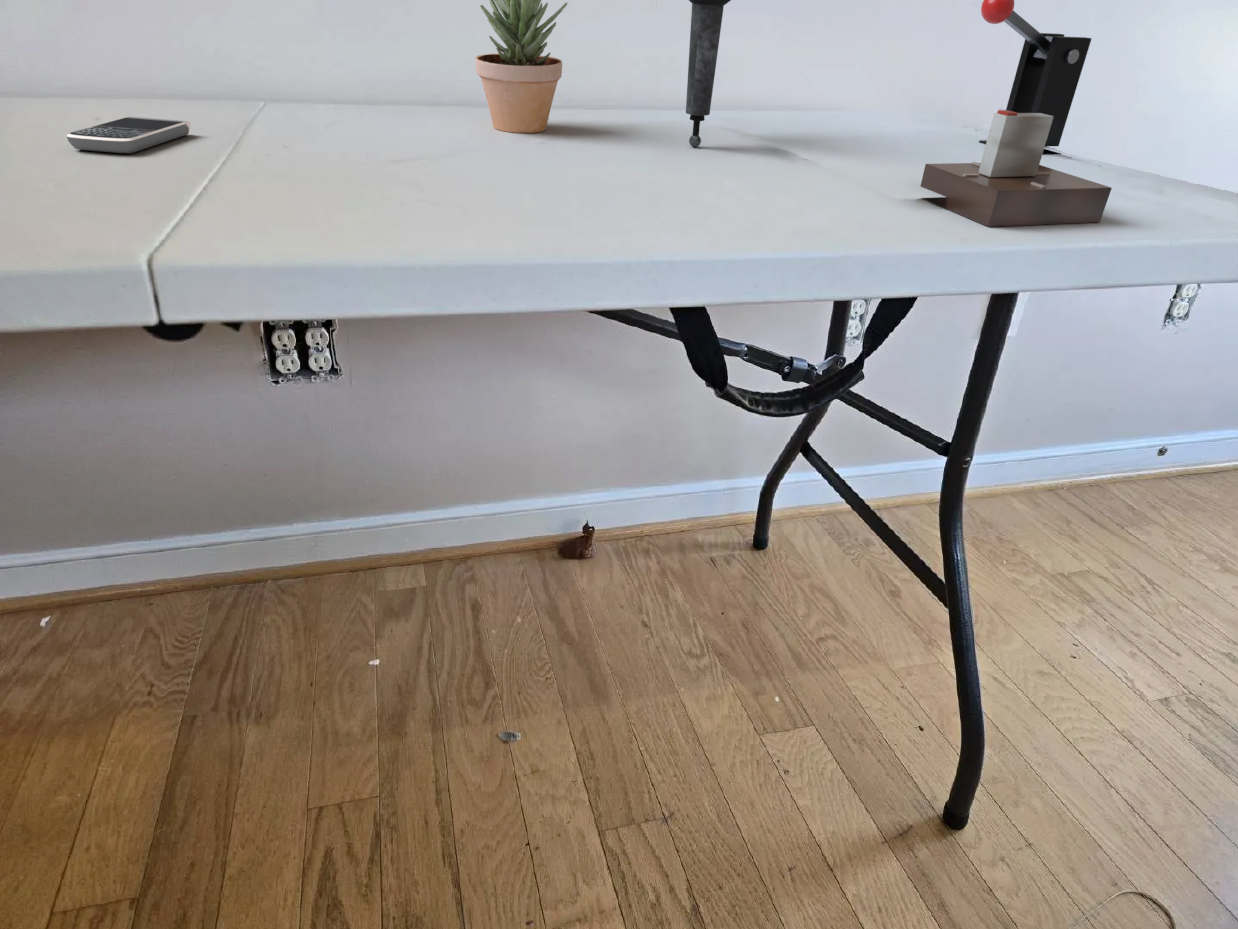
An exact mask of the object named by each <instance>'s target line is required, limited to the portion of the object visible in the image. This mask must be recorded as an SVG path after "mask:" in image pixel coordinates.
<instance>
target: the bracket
mask: <svg viewBox="0 0 1238 929" xmlns="http://www.w3.org/2000/svg"><path fill="white" fill-rule="evenodd" d="M1040 33H1041V34H1042V35H1043V36H1044V37H1045V36H1052V37H1053V38H1052V41H1051V45H1050V48H1049V52H1048V55H1047V59H1046V62H1045V66H1044V65H1042V64H1041V63H1040V62H1039V61H1037V60H1036V59H1035V58H1034V57H1033V56H1034V54H1035V52H1036V51H1037V48H1036V47H1035V46H1033V45H1032V44H1031V43H1030V42H1028V41H1027V40H1026V39H1025V38H1024V42H1023V46H1022V50H1021V53H1020V57H1019V61H1018V64H1017V68H1016V72H1015V75H1014V79H1013V82H1012V86H1011V90H1010V94H1009V97H1008V100H1007V104H1006V108H1005V110H1009V111H1013V112H1017V113H1042V114H1046V115H1050V116H1053V120H1052V124H1051V127H1050V130H1049V134H1048V137H1047V140H1046V144H1045V147H1059V146H1060V144H1061V139H1062V137H1063V133H1064V129H1065V127H1066V123H1067V120H1068V117H1069V114H1070V110H1071V107H1072V105H1073V104H1072V103H1073V102H1074V101H1073V100H1074V97H1075V94H1076V91H1077V88H1078V84H1079V81H1080V78H1081V75H1082V71H1083V68H1084V64H1085V61H1086V58H1087V55H1088V52H1089V49H1090V45H1091V42H1092V37H1086V36H1085V37H1083V36H1065V34H1063V33H1050V32H1040ZM986 142H987V139H986V140H983V139H982V140H979V141H978V143H979V144H983V145H986ZM1045 155H1050V156H1051V155H1053V156H1054V155H1062V153H1060V152H1057V151H1054V150H1050V149H1047V148H1044V150H1043V154H1042V156H1045Z"/></svg>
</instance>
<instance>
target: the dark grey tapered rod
mask: <svg viewBox="0 0 1238 929" xmlns="http://www.w3.org/2000/svg"><path fill="white" fill-rule="evenodd" d="M688 1H689V2H690V3H691V17H690V30H689V32H690V34H689V50H688V67H687V82H686V84H687V85H686V101H685V113H686V114H687V115H689V120H690V121H693V122H692V124H693V125H692V134H691V136H690V137H689V138H688V143H689V145H690V146H691V147H693V148H697V147H699V146H700V145H701V144H702V139H701V136H700V126H701V122H704V121H705V120H706V118H705V116H709V115H710V113H711V106H712V99H713V90H714V83H715V75H716V67H717V60H718V53H719V46H720V38H721V32H722V31H721V29H722V24H723V23H722V22H723V21H722V20H723V14H724V9H725V8H724V7H725V6H726V5H727V4H728V3H729V2H731V1H732V0H688Z"/></svg>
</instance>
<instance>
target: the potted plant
mask: <svg viewBox="0 0 1238 929" xmlns="http://www.w3.org/2000/svg"><path fill="white" fill-rule="evenodd" d="M488 2H489V4H490V7H491V8H492V13H490V11H489V10H488V9H487V8H486V7H485V6H484V4H479V5H480V6H479V7H480V9H481V10H482V12H483V13H484V15H485V16H486V18H487V22H488V23H489V25H490V26H491V27H492V29H493V30H494V32H495V33H496V35H497V36H498V37H499V39H500V40H501V41H502V42H503V44H504V45H505V46H503V45H502V44H500V43H499V42H498V41H497V40H496V39H495V38H493V36H491V35H488V38H489V39H490V41H491V42H492V43H493V45H494V46H495V49H496V51H497V53H487V54H479V55H477V56H476V57H475V71H476V75H478V77H479V78H480V80H481V84H482V87H483V92H484V94H485V98H486V102H487V106H488V109H489V114H490V117H491V121H492V122H491V123H492V126H493V128H494V129H495V130H497V131H500V132H501V131H502V132H506V133H507V132H508V133H514V134H515V133H516V134H518V133H519V134H535V133H536V134H537V133H540V132H541V133H542V132H544V131H545V130H546V128H547V125H548V121H549V117H550V112H551V108H552V104H553V100H554V97H555V93H556V89H557V86H558V82H559V80H560V79H561V78H562V75H563V74H562V73H563V61H562V59H559V58H557V57H553V56H550V55H551V51H549V52H548V53H547V54H546V55H542V54H543V53H544V51H545V49H546V48H547V46H548V41H546V40H547V39H548V38H549V36H550V35H551V34H552V32H553V31H554V28H555V27H556V26H557V21H555V22H554V20H555V19H556V18H557V17H558V16H559V15H560V14H561V13H563V10H564V9H565V8H566V7H567V6H568V2H565V3H564V4H562V6H561V7H560V8H559V9H558V10H557V11H555V12H554V13H553V14H552V15H551V16H550V17H548V18H547V20H546V21H544V22H543V23H542V24H540V22H541V20H542V18H543V17H544V15H545V13H546V11H547V8H548V5H549V3H548V2H546V3H545V4H544V5H543V2H542V0H488ZM552 22H554V23H552ZM551 23H552V24H551ZM539 24H540V25H539ZM550 24H551V25H550ZM538 25H539V26H538ZM549 25H550V26H549ZM548 26H549V27H548ZM547 27H548V28H547ZM546 28H547V29H546ZM545 29H546V30H545ZM543 31H544V32H543Z"/></svg>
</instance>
